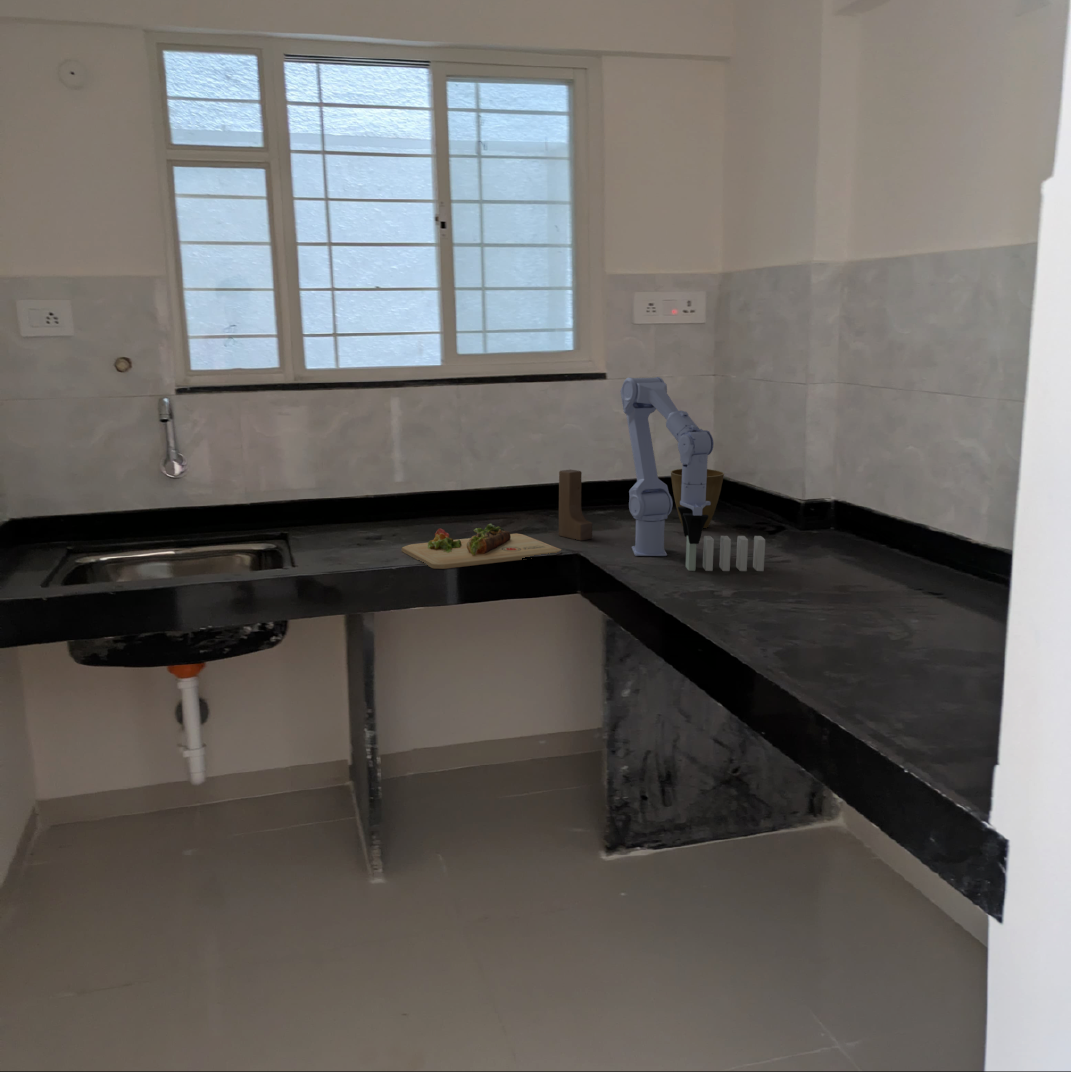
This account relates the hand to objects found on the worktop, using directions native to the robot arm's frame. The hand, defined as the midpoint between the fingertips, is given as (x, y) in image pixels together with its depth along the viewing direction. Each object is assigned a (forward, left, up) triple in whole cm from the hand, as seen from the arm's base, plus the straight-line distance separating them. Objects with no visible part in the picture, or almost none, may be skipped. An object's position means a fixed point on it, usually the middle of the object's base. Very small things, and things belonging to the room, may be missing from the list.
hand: (691, 540), depth 232 cm
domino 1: (0, 0, -7) cm, 7 cm away
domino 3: (0, +8, -7) cm, 11 cm away
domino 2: (0, +4, -7) cm, 8 cm away
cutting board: (-16, -50, -8) cm, 53 cm away
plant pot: (-50, +9, -7) cm, 51 cm away
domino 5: (0, +16, -7) cm, 17 cm away
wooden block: (-35, -26, -7) cm, 44 cm away
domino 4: (0, +12, -7) cm, 14 cm away
